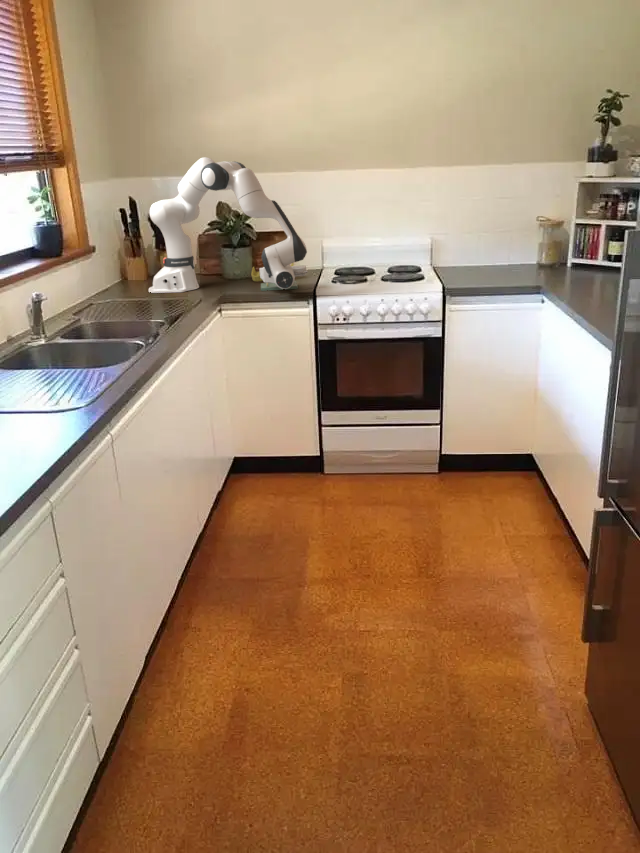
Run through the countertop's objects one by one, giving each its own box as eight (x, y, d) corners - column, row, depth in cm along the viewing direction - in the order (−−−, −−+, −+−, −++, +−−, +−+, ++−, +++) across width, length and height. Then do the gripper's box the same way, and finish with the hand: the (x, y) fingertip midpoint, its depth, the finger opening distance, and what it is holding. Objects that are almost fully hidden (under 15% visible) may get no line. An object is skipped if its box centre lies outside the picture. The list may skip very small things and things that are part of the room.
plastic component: (250, 277, 339) (252, 264, 346) (254, 290, 345) (256, 277, 351) (292, 272, 337) (294, 260, 343) (295, 285, 342) (296, 273, 349)
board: (261, 290, 317) (260, 283, 316) (260, 286, 328) (260, 278, 327) (297, 288, 318) (297, 281, 317) (296, 284, 329) (296, 276, 328)
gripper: (307, 265, 307) (305, 260, 320) (258, 267, 306) (259, 262, 319) (308, 280, 310) (306, 274, 323) (260, 282, 309) (260, 277, 321)
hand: (282, 268), depth 321 cm, fingers open, 8 cm apart
